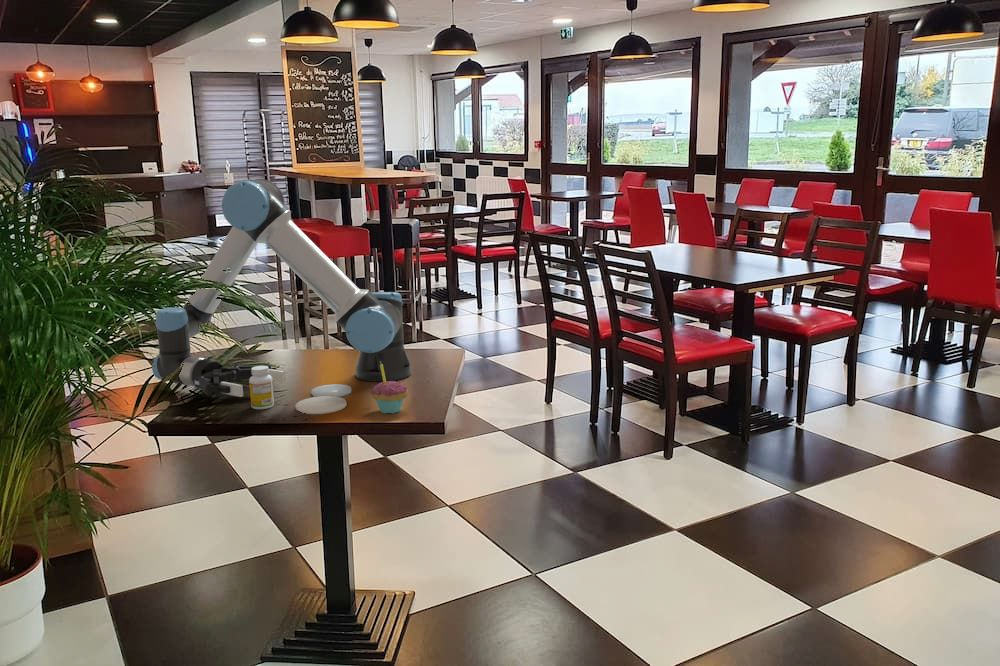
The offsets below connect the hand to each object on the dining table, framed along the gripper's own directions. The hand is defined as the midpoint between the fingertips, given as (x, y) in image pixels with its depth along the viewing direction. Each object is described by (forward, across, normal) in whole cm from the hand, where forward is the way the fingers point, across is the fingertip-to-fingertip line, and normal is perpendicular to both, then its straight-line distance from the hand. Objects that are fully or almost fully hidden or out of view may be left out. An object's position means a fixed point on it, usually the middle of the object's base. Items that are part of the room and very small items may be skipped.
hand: (263, 383), depth 195 cm
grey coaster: (+6, -17, -6) cm, 19 cm away
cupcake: (+29, -12, -6) cm, 32 cm away
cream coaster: (+12, -7, -6) cm, 15 cm away
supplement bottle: (-1, 0, -6) cm, 6 cm away
